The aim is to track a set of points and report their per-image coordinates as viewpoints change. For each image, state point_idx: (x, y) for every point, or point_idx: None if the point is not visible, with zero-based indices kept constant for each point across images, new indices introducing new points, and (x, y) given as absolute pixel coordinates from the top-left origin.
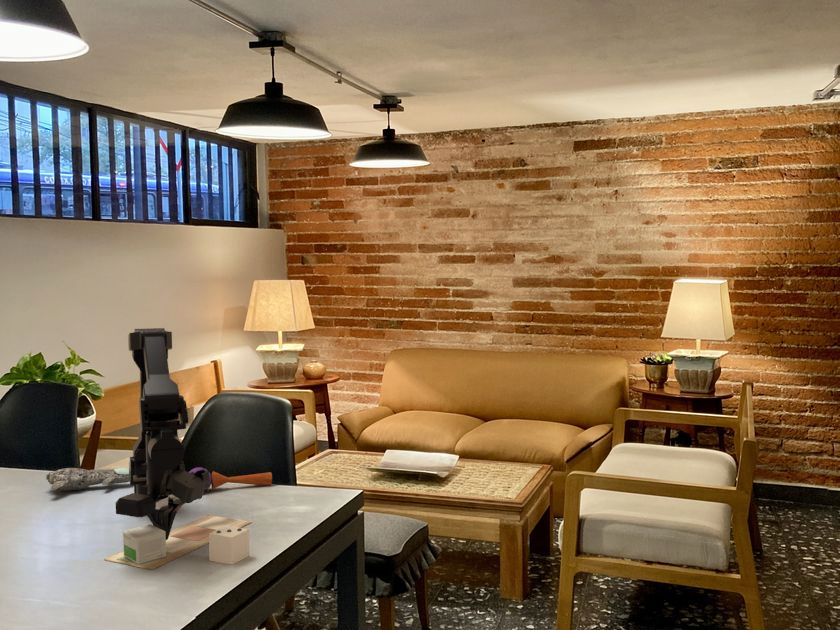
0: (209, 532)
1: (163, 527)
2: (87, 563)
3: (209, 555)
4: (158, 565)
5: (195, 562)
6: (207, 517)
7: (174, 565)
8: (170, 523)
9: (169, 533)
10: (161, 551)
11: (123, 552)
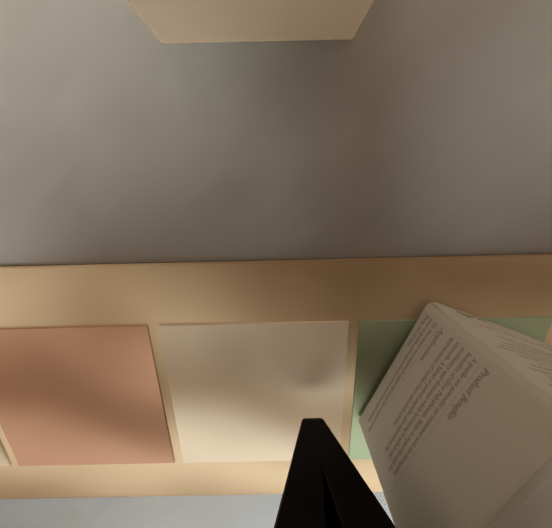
0: (15, 355)
1: (382, 512)
2: None
3: (363, 19)
4: (541, 256)
5: (417, 104)
6: None
7: (496, 190)
8: (313, 525)
9: (298, 445)
10: (479, 327)
11: None
